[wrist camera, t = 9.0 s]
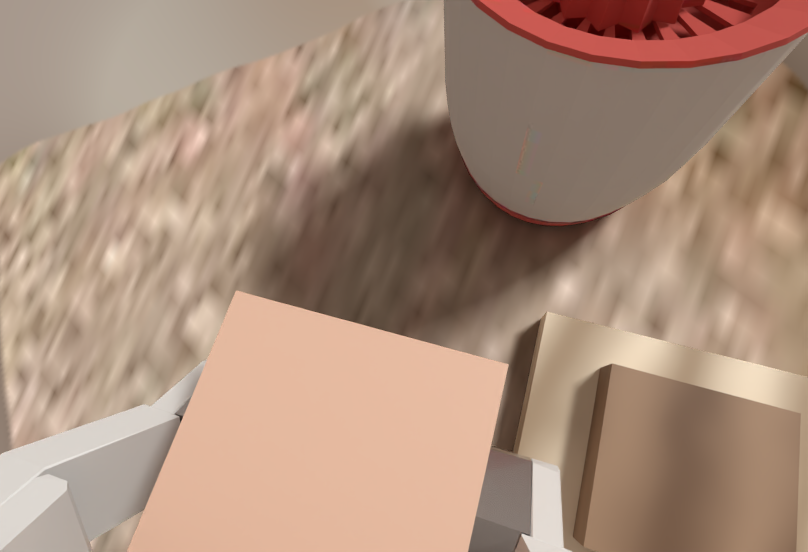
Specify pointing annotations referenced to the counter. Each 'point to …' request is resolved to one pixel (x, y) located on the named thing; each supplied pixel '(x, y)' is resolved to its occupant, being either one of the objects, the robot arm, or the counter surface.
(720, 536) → the stepped pedestal
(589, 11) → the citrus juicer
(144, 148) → the counter surface
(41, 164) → the counter surface
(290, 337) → the pillar block
